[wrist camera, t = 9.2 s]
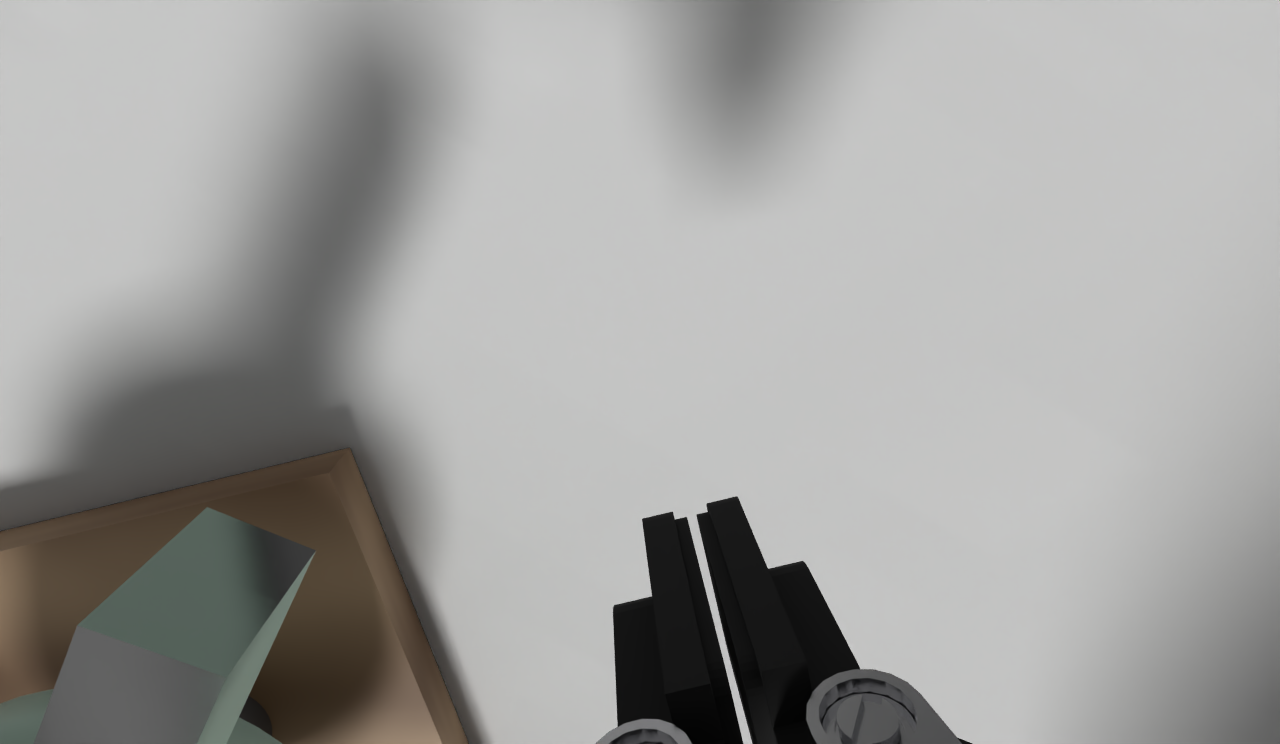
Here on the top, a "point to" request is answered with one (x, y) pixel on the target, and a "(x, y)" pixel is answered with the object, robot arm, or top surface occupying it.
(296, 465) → the walnut board
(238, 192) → the top surface
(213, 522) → the green door lever handle
